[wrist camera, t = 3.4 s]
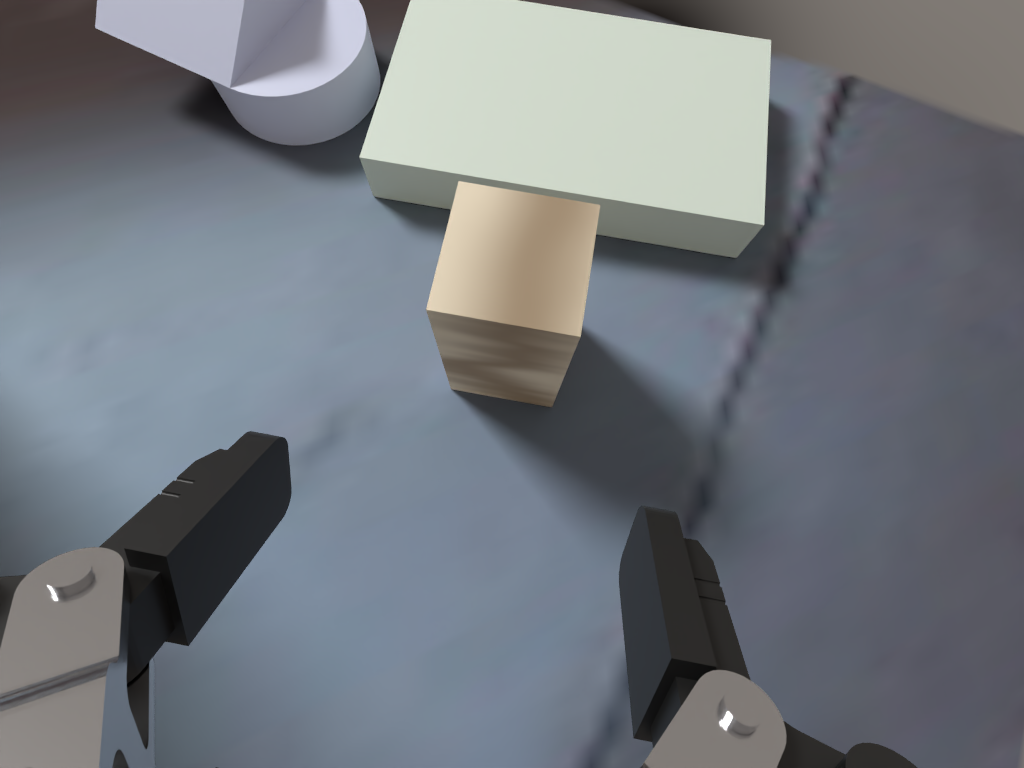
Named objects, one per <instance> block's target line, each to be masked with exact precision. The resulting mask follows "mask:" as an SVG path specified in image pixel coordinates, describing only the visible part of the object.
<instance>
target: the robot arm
mask: <svg viewBox="0 0 1024 768" xmlns="http://www.w3.org/2000/svg"><path fill="white" fill-rule="evenodd" d="M290 499H291V478H290V465H289V452H288V443H287V441H286V439H285V438H283V437H279V436H274V435H268V434H263V433H258V432H252V431H250V432H247V433H245V434H244V435H243V436H242V437H241V438H240V439H239V440H238V441H237V442H236V443H235V444H234V445H232V446H231V447H230V448H229V449H228V450H223V449H219V450H217V451H215V452H213V453H211V454H209V455H207V456H205V457H203V458H201V459H199V460H197V461H195V462H194V463H193V464H191V465H190V466H189V467H188V468H187V469H186V470H185V471H184V472H183V473H181V474H180V475H179V476H178V477H177V480H176V481H172V482H171V483H170V484H169V485H168V486H167V487H166V488H165V489H164V490H162V494H161V495H160V494H158V495H157V496H156V497H155V498H154V499H152V500H151V501H150V502H149V503H148V504H147V505H146V506H145V507H143V508H142V509H141V510H140V511H139V512H138V513H137V514H136V515H135V516H133V517H132V518H131V519H130V520H129V521H128V522H127V523H126V524H124V525H123V526H122V527H121V528H120V529H119V530H118V531H117V532H116V533H114V534H113V535H112V536H111V537H110V538H109V539H108V540H107V541H105V542H104V543H103V544H102V545H101V546H100V547H92V548H83V549H77V550H73V551H70V552H66V553H64V554H61V555H58V556H56V557H54V558H52V559H50V560H48V561H46V562H44V563H43V564H41V565H39V566H38V567H37V568H35V569H34V570H32V571H31V572H30V573H29V574H28V575H21V576H8V577H0V768H155V665H154V659H153V656H154V655H155V654H156V652H157V651H158V650H159V648H160V647H161V646H162V645H163V643H164V642H165V641H166V642H171V643H176V644H181V645H186V646H189V645H190V643H191V642H192V640H193V639H194V638H195V636H196V635H197V634H198V632H199V631H200V630H201V628H202V627H203V626H204V624H205V623H206V621H207V620H208V619H209V617H210V616H211V615H212V613H213V612H214V611H215V609H216V608H217V607H218V605H219V604H220V603H221V601H222V600H223V598H224V597H225V596H226V594H227V593H228V592H229V590H230V589H231V588H232V586H233V585H234V584H235V582H236V581H237V579H238V578H239V577H240V575H241V574H242V573H243V571H244V570H245V569H246V567H247V566H248V565H249V563H250V562H251V560H252V559H253V558H254V556H255V555H256V554H257V552H258V551H259V550H260V548H261V547H262V546H263V544H264V543H265V541H266V540H267V539H268V537H269V536H270V535H271V533H272V532H273V531H274V529H275V528H276V527H277V525H278V524H279V522H280V521H281V520H282V518H283V517H284V515H285V513H286V511H287V509H288V506H289V503H290ZM719 584H720V582H719V578H718V575H717V572H716V569H715V565H714V562H713V560H712V559H711V558H710V556H709V555H708V554H707V552H706V551H705V550H704V548H703V547H702V546H701V544H700V543H699V542H698V541H697V540H692V539H686V538H683V534H682V530H681V526H680V522H679V518H678V515H677V514H676V513H675V512H672V511H667V510H662V509H656V508H651V507H646V506H641V507H640V508H639V509H638V511H637V514H636V517H635V520H634V522H633V525H632V528H631V531H630V534H629V537H628V540H627V543H626V546H625V549H624V551H623V554H622V558H621V563H620V571H619V588H620V598H621V609H622V620H623V630H624V641H625V652H626V662H627V673H628V684H629V694H630V705H631V716H632V726H633V737H634V738H635V739H640V740H645V741H650V742H652V743H653V750H652V751H651V753H650V754H649V756H648V758H647V759H646V761H645V762H644V763H643V765H642V766H641V768H917V767H916V766H915V765H914V764H912V763H911V762H910V761H908V760H907V759H906V758H904V757H903V756H901V755H900V754H898V753H896V752H895V751H893V750H891V749H888V748H886V747H884V746H881V745H878V744H873V743H861V744H857V745H855V746H854V747H852V748H851V749H850V750H849V751H848V753H847V754H846V755H845V754H843V753H841V752H839V751H837V750H835V749H833V748H831V747H829V746H827V745H825V744H823V743H821V742H819V741H818V740H816V739H814V738H812V737H810V736H808V735H806V734H804V733H802V732H800V731H798V730H797V729H795V728H793V727H791V726H790V725H789V724H787V723H786V722H784V721H783V719H782V717H781V714H780V712H779V711H778V709H777V707H776V706H775V704H774V703H773V701H772V700H771V699H770V698H769V696H768V695H767V694H766V693H765V692H764V691H763V690H762V689H761V688H760V687H758V686H757V685H756V684H755V683H753V682H752V681H751V680H750V677H749V674H748V671H747V668H746V665H745V662H744V658H743V655H742V652H741V649H740V646H739V642H738V639H737V636H736V633H735V630H734V626H733V623H732V620H731V617H730V614H729V610H728V607H727V605H725V598H724V594H723V591H722V588H721V587H720V586H719ZM216 768H217V767H216Z"/></svg>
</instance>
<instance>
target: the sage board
mask: <svg viewBox="0 0 1024 768" xmlns="http://www.w3.org/2000/svg"><path fill="white" fill-rule="evenodd" d="M770 56H771V40H766V39H760V38H753V37H747V36H741V35H734V34H727V33H722V32H715V31H709V30H702V29H695V28H690V27H683V26H677V25H671V24H664V23H658V22H652V21H645V20H639V19H633V18H626V17H620V16H613V15H607V14H601V13H594V12H588V11H582V10H575V9H569V8H563V7H556V6H550V5H544V4H537V3H531V2H524V1H518V0H411V1H410V4H409V7H408V10H407V13H406V16H405V19H404V22H403V25H402V28H401V31H400V34H399V37H398V40H397V44H396V47H395V50H394V53H393V56H392V59H391V62H390V65H389V68H388V71H387V74H386V77H385V80H384V83H383V86H382V89H381V93H380V96H379V99H378V102H377V105H376V108H375V111H374V114H373V117H372V120H371V123H370V126H369V129H368V132H367V135H366V138H365V142H364V145H363V148H362V151H361V154H360V157H359V158H360V160H361V163H362V166H363V169H364V171H365V174H366V177H367V180H368V182H369V185H370V188H371V191H372V193H373V196H374V197H379V198H385V199H391V200H397V201H403V202H409V203H415V204H421V205H426V206H432V207H438V208H444V209H450V210H451V209H452V205H453V201H454V197H455V193H456V189H457V186H458V182H459V181H461V182H467V183H473V184H479V185H485V186H491V187H497V188H503V189H509V190H515V191H521V192H527V193H533V194H538V195H544V196H550V197H556V198H562V199H568V200H574V201H580V202H586V203H592V204H598V205H600V211H599V218H598V224H597V231H596V234H597V235H603V236H609V237H615V238H621V239H627V240H633V241H639V242H644V243H650V244H656V245H662V246H668V247H674V248H680V249H686V250H692V251H697V252H703V253H709V254H715V255H721V256H727V257H733V258H737V257H738V256H739V254H740V253H741V252H742V251H743V250H744V248H745V247H746V246H747V245H748V244H749V243H750V241H751V240H752V239H753V238H754V237H755V235H756V234H757V233H758V232H759V231H760V230H761V228H762V227H763V226H764V217H765V190H766V163H767V137H768V110H769V83H770Z"/></svg>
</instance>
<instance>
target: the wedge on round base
mask: <svg viewBox="0 0 1024 768" xmlns="http://www.w3.org/2000/svg"><path fill="white" fill-rule="evenodd" d="M95 28H96V29H99V30H101V31H103V32H105V33H108V34H110V35H112V36H114V37H117V38H119V39H121V40H123V41H126V42H128V43H130V44H132V45H134V46H137V47H139V48H141V49H143V50H146V51H148V52H150V53H152V54H155V55H157V56H159V57H161V58H163V59H166V60H168V61H170V62H172V63H175V64H177V65H179V66H181V67H184V68H186V69H188V70H190V71H192V72H195V73H197V74H199V75H201V76H204V77H206V78H208V79H210V80H211V81H212V83H213V84H214V86H215V88H216V89H217V91H218V92H219V94H220V96H221V97H222V99H223V100H224V102H225V104H226V105H227V107H228V108H229V110H230V112H231V113H232V115H233V116H234V118H235V119H236V120H237V122H238V123H239V124H240V125H241V126H242V127H243V128H245V129H246V130H247V131H249V132H250V133H251V134H253V135H255V136H257V137H259V138H261V139H264V140H266V141H269V142H273V143H277V144H284V145H309V144H315V143H320V142H324V141H327V140H330V139H333V138H335V137H337V136H340V135H342V134H344V133H345V132H347V131H349V130H350V129H352V128H353V127H354V126H356V125H357V124H358V123H360V121H361V120H362V119H363V118H364V117H365V116H366V115H367V114H368V113H369V111H370V110H371V109H372V107H373V105H374V103H375V101H376V99H377V96H378V93H379V89H380V72H379V67H378V63H377V60H376V56H375V52H374V48H373V44H372V40H371V36H370V32H369V28H368V24H367V20H366V16H365V13H364V10H363V8H362V5H361V4H360V2H359V0H97V11H96V24H95Z"/></svg>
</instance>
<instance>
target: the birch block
mask: <svg viewBox="0 0 1024 768" xmlns="http://www.w3.org/2000/svg"><path fill="white" fill-rule="evenodd" d="M599 211H600V205H598V204H592V203H586V202H580V201H574V200H568V199H562V198H556V197H550V196H544V195H538V194H533V193H527V192H521V191H515V190H509V189H503V188H497V187H491V186H485V185H479V184H473V183H467V182H461V181H459V182H458V186H457V189H456V193H455V197H454V201H453V205H452V209H451V213H450V217H449V221H448V225H447V229H446V233H445V237H444V241H443V245H442V249H441V253H440V257H439V261H438V265H437V269H436V273H435V277H434V281H433V285H432V288H431V292H430V296H429V300H428V304H427V308H426V311H427V314H428V317H429V320H430V323H431V327H432V330H433V333H434V336H435V339H436V342H437V346H438V349H439V352H440V355H441V358H442V362H443V365H444V368H445V371H446V374H447V377H448V381H449V384H450V387H451V389H453V390H458V391H464V392H469V393H475V394H480V395H486V396H491V397H497V398H503V399H508V400H514V401H519V402H525V403H530V404H536V405H541V406H547V407H552V406H553V404H554V401H555V399H556V396H557V394H558V391H559V389H560V386H561V384H562V381H563V379H564V377H565V374H566V372H567V369H568V367H569V364H570V362H571V359H572V357H573V354H574V352H575V349H576V347H577V344H578V342H579V339H580V337H581V330H582V324H583V317H584V311H585V304H586V297H587V291H588V284H589V277H590V271H591V264H592V257H593V251H594V244H595V238H596V231H597V224H598V218H599Z"/></svg>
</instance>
